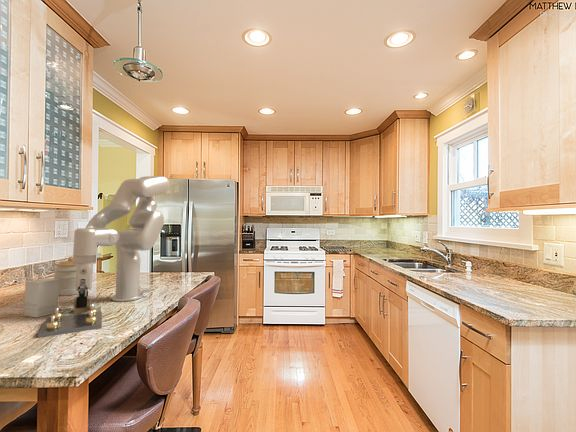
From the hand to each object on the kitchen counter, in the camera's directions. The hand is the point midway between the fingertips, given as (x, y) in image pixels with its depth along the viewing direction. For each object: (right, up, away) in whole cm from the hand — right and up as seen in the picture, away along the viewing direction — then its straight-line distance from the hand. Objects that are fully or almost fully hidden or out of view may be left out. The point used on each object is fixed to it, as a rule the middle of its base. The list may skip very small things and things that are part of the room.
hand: (82, 304), depth 111 cm
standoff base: (+7, -3, -14) cm, 16 cm away
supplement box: (-13, -3, -3) cm, 14 cm away
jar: (-27, -4, +29) cm, 40 cm away
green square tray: (0, -3, 0) cm, 3 cm away
